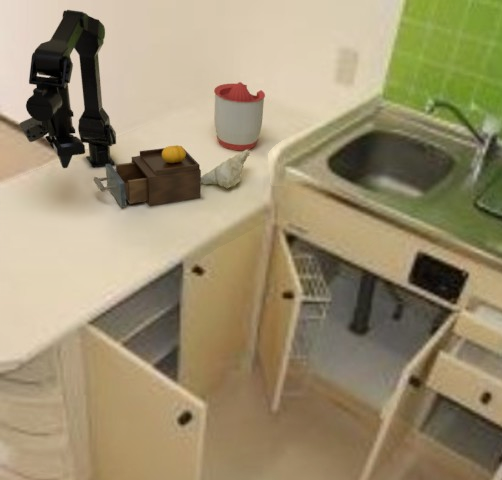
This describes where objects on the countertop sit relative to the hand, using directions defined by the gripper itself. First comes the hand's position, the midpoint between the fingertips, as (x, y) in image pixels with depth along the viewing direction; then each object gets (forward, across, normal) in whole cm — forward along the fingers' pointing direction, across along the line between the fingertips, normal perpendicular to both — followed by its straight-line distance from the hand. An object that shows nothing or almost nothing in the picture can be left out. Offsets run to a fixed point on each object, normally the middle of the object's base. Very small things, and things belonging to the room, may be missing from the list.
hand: (64, 167), depth 158 cm
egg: (+2, 0, +28) cm, 28 cm away
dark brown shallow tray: (+2, 0, +26) cm, 26 cm away
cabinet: (+11, 0, +26) cm, 28 cm away
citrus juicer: (+11, -24, +60) cm, 65 cm away
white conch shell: (+11, -1, +45) cm, 46 cm away
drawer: (+10, 0, +16) cm, 19 cm away
